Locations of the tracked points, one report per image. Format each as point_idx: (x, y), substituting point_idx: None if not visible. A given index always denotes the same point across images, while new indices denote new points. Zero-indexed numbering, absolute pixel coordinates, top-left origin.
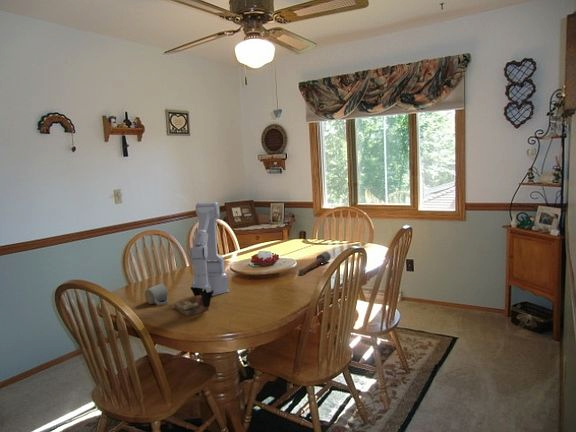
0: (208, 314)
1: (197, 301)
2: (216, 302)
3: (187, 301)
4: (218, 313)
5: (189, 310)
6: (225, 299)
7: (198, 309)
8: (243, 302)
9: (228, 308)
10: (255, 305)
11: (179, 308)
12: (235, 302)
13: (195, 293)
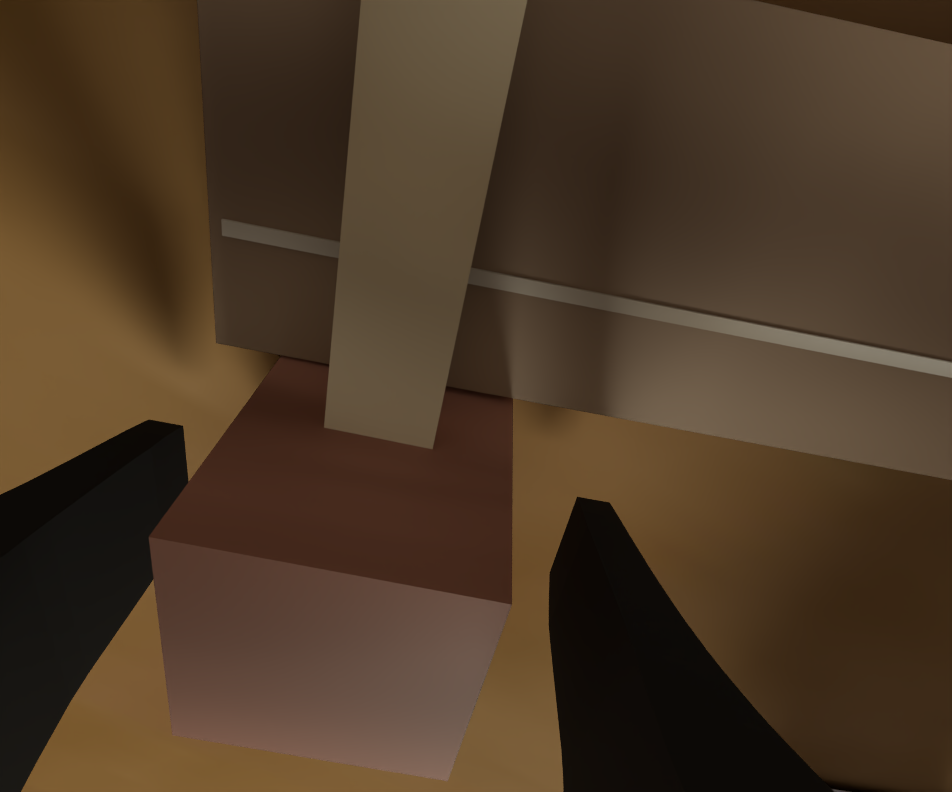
0: (59, 328)
1: (357, 465)
2: (498, 683)
3: (944, 455)
4: (4, 452)
5: (300, 52)
6: (489, 771)
7: (216, 282)
8: (217, 787)
9: (134, 630)
10: (31, 783)
11: (860, 30)
12: (287, 761)
13: (637, 725)
